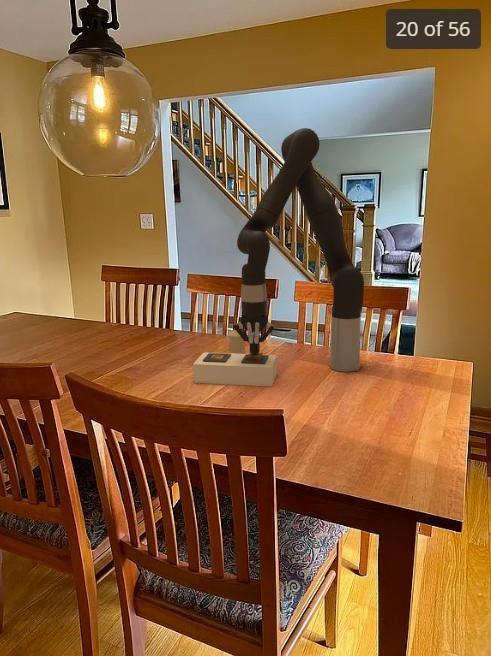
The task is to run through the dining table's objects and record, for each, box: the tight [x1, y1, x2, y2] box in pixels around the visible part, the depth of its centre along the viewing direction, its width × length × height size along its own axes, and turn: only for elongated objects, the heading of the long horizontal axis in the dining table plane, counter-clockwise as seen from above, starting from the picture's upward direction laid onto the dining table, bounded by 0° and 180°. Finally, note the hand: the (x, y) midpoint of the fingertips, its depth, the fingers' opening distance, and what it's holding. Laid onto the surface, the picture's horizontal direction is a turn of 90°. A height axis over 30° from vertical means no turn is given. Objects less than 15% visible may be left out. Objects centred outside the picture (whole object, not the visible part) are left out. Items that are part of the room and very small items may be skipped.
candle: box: [228, 329, 246, 354], centre depth 172 cm, size 6×6×10 cm
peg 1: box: [210, 355, 225, 359], centre depth 154 cm, size 4×4×7 cm
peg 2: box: [247, 352, 264, 361], centre depth 151 cm, size 4×4×7 cm
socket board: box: [192, 352, 278, 387], centre depth 153 cm, size 24×12×7 cm, turn 79°
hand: (254, 354), depth 151 cm, fingers closed
